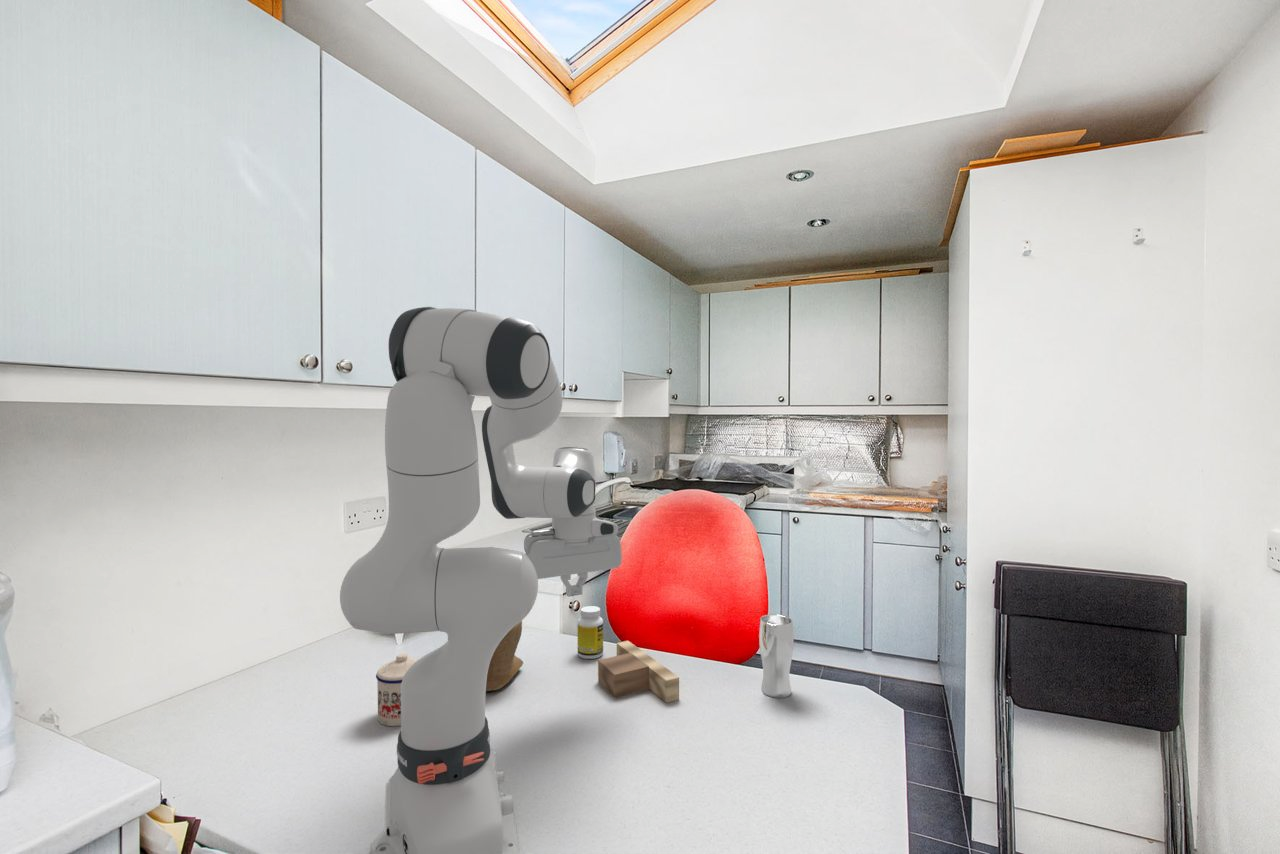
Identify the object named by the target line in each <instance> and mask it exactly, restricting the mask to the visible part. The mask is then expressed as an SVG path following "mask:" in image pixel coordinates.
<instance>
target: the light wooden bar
mask: <svg viewBox="0 0 1280 854" xmlns="http://www.w3.org/2000/svg"><path fill="white" fill-rule="evenodd" d="M628 653H632V654H633V655H635V656H636V657H637V658H638V659H640V660H641V661H642V662H644V663H645V664H646V665H648V666H649V689H648V690H650V691H652V692H653V693H654V694H655V695H656V696H657V697H658V698H660V699H661V700H662V701H663V702H664V703H666V704H667V703H671V702H675V701H678V700H680V677H679V676H678V675H677V674H675V672H672V671H671V670H670V669H669V668H667V667H665V666H664V665H663V664H661V662H659V661H657V660H656V659H655V658H653V657H652V656H650V655H649V654H647V653H646V652H645V651H644V650H642V649H641V648H639V647H637V646H636V645H635V644H633V643H632V642H631V641H629V640H624V641H620V642H616V656H619V655H623V654H628Z"/></svg>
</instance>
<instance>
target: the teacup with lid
mask: <svg viewBox="0 0 1280 854" xmlns="http://www.w3.org/2000/svg"><path fill="white" fill-rule="evenodd" d="M419 659H420V658H412V657H409V656H408V654H407V653H399V654H398V655H396V657H395V659H393V660H391V661H390V662H388V663H385V664H384V665H381V667H380V668H379V669H378V670H377V672H376V675H375V678H376V680H377V719H378V722H379V723H380V724H381V725H384V726H387V727H401V683H402V680H403V677H404V675H405V673H406V672H407V670H408V669H409V668H410V667H411V666H412V665H413V664H414V663H415V662H416V661H417V660H419Z"/></svg>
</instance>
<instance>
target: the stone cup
mask: <svg viewBox="0 0 1280 854" xmlns="http://www.w3.org/2000/svg"><path fill="white" fill-rule="evenodd" d="M522 631H523V620H522V621H521V622H519V623H518V624H517V625H515V626H514V627H513V628H512V629H511V630H510V631H509V632H508V633H507V634H506V635H505V636H504V638H503V639H502V640H501V642H500V643H499V645H498V646H497V648H496V650H495V652H494V654H493V656H492V658H491V661H490V664H489V668H488V673H487V681H486V692H490V691H498V690H499V689H502V688H503V687H504V686H506V685H507V684H508V683H510V681H511V680H512V679H513V678H514V676H515V675H516V674H517V673H518V671H519V670H520V669H521V668H522V666H523V665H524V661H523V660H522V658H520V657H517V655H515V654H516V651H517V648H518V645H519V642H520V640H521V636H522Z"/></svg>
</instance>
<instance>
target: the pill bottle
mask: <svg viewBox="0 0 1280 854" xmlns="http://www.w3.org/2000/svg"><path fill="white" fill-rule="evenodd" d="M600 615H601V607H599V606H597V605H596V606H595V605H587V606H583V607H582V608H581V609H580V617H579V618H578V620H577V655H578V657H579V658H582V659H585V660H594V659H595V660H596V659H599V658H601V656H603V655H604V619H603V618H602V617H601V616H600Z"/></svg>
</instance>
